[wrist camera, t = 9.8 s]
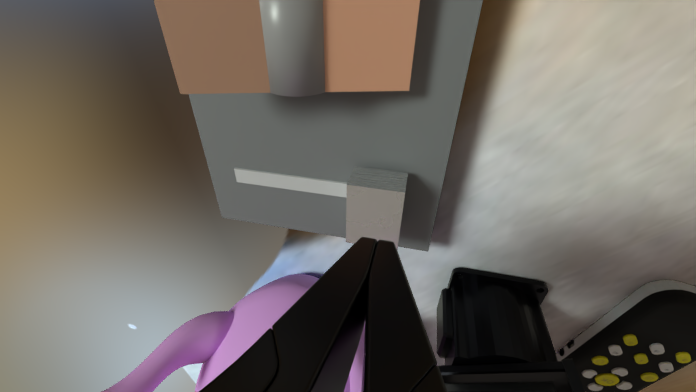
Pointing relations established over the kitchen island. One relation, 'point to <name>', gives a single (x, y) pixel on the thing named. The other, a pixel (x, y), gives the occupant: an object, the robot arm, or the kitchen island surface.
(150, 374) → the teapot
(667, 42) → the kitchen island surface
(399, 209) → the small grey block
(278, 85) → the rocker
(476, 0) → the panel
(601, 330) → the remote control
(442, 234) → the kitchen island surface
